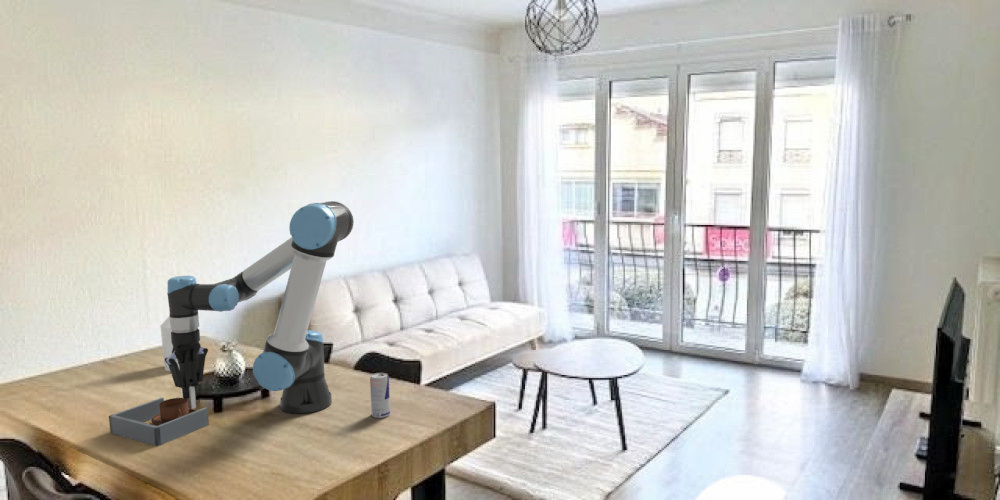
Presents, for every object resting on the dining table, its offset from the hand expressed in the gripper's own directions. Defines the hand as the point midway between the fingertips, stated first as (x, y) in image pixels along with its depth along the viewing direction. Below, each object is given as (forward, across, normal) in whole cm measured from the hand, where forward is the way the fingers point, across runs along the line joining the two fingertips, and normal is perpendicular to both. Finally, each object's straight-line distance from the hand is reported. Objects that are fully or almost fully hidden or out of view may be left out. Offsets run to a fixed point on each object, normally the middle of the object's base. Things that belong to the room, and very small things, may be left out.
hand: (190, 407), depth 196 cm
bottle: (+3, -31, -46) cm, 56 cm away
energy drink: (+3, -25, +50) cm, 56 cm away
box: (+3, +10, 0) cm, 11 cm away
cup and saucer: (+3, +5, 0) cm, 6 cm away
